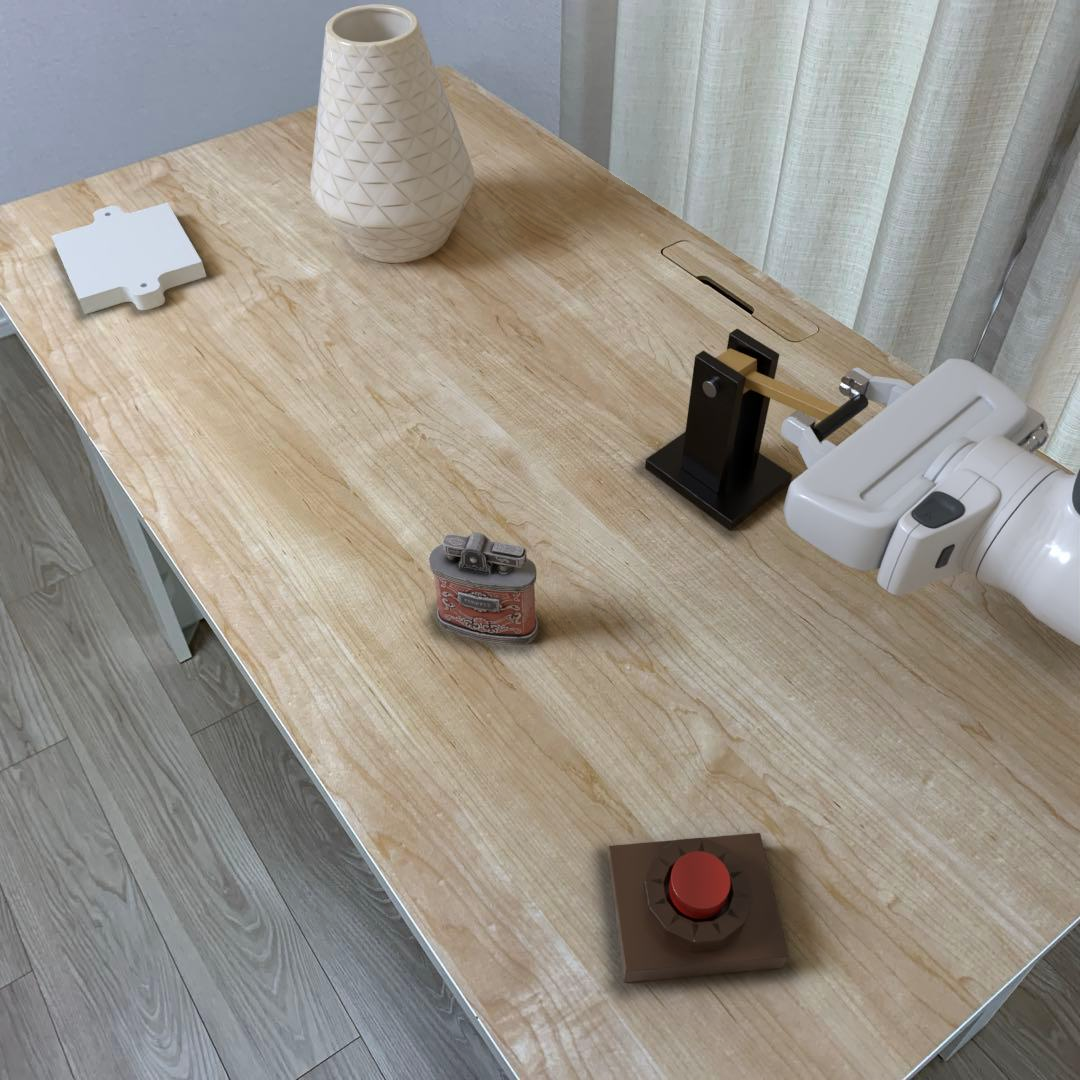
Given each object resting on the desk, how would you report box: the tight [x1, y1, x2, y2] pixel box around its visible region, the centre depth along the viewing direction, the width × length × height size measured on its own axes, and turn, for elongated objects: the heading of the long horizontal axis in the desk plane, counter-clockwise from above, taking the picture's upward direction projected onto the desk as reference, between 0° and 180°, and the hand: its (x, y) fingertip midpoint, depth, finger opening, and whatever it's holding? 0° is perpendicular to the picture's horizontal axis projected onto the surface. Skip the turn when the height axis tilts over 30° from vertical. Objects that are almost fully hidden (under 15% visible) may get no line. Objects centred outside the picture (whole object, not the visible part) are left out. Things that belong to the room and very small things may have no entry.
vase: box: [309, 3, 476, 264], centre depth 108 cm, size 18×17×23 cm
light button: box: [669, 851, 731, 919], centre depth 64 cm, size 4×4×2 cm
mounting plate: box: [50, 202, 207, 315], centre depth 113 cm, size 18×13×2 cm
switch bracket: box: [644, 328, 793, 532], centre depth 87 cm, size 10×8×14 cm
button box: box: [607, 832, 789, 983], centre depth 66 cm, size 10×8×4 cm
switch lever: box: [715, 348, 869, 443], centre depth 80 cm, size 12×6×2 cm, turn 42°
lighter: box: [428, 532, 539, 645], centre depth 79 cm, size 8×3×10 cm, turn 76°
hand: (817, 399), depth 78 cm, fingers closed on switch lever, 5 cm apart
